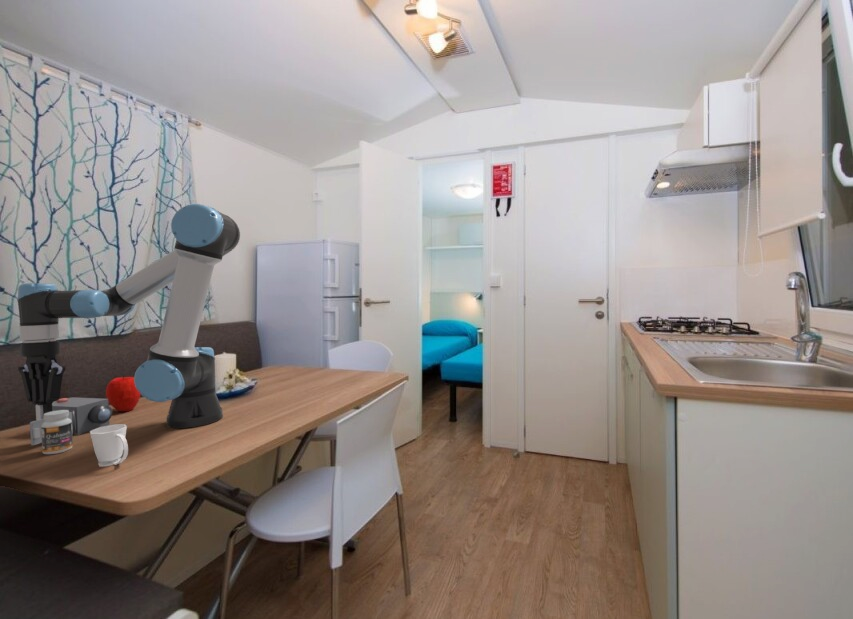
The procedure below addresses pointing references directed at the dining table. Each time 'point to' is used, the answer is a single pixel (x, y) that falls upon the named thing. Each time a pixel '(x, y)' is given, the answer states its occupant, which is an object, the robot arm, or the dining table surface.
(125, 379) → the apple
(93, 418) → the camera body
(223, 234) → the robot arm
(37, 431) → the side door
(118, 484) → the dining table surface
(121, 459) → the cup
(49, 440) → the pill bottle
